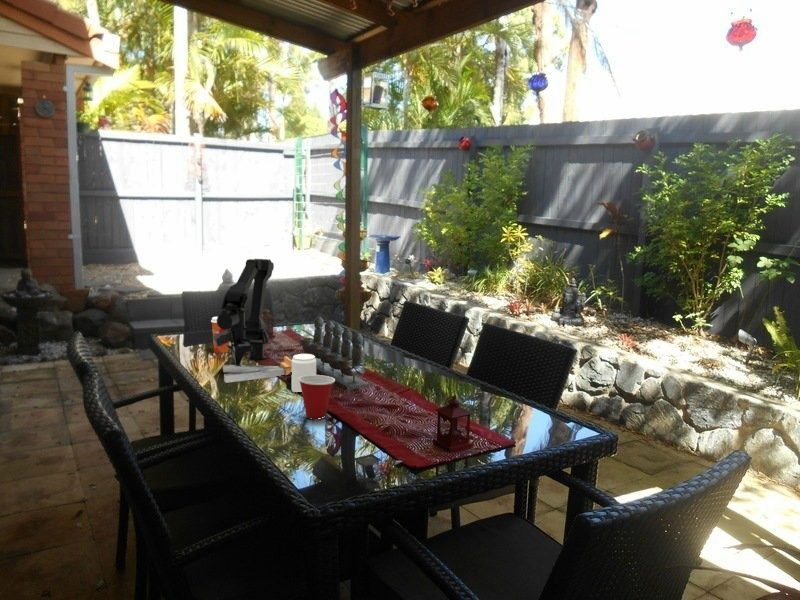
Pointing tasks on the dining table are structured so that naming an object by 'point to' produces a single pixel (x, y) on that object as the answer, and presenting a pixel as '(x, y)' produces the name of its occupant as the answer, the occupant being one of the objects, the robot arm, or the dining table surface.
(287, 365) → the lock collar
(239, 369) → the bar
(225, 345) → the paper cup
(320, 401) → the plastic cup
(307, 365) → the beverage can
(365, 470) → the dining table surface
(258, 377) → the base
